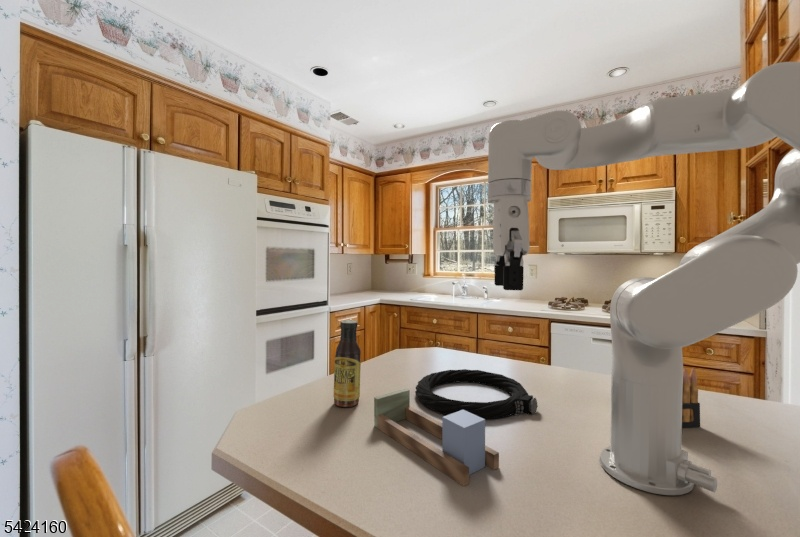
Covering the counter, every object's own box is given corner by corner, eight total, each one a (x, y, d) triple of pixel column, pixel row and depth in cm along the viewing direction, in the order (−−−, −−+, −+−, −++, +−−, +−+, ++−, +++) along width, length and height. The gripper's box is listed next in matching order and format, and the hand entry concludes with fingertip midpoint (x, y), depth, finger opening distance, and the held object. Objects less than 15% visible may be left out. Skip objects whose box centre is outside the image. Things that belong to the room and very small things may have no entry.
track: (498, 467, 61) (499, 431, 61) (463, 486, 56) (463, 447, 56) (406, 415, 81) (406, 388, 81) (374, 425, 76) (374, 397, 76)
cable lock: (449, 362, 111) (552, 381, 93) (449, 374, 111) (552, 396, 93) (392, 387, 89) (514, 419, 71) (392, 403, 89) (513, 439, 71)
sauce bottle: (329, 407, 85) (328, 323, 85) (339, 397, 92) (339, 318, 91) (355, 410, 84) (355, 324, 83) (364, 399, 90) (364, 319, 89)
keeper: (485, 466, 61) (485, 419, 61) (464, 477, 58) (464, 427, 58) (463, 453, 65) (463, 409, 65) (442, 463, 62) (442, 416, 62)
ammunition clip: (692, 423, 77) (694, 366, 76) (700, 427, 75) (701, 369, 75) (644, 425, 76) (645, 368, 76) (650, 429, 74) (651, 370, 74)
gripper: (544, 183, 57) (542, 292, 58) (519, 200, 74) (518, 284, 75) (495, 184, 58) (493, 291, 58) (482, 201, 75) (481, 284, 76)
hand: (507, 287), depth 67 cm, fingers open, 9 cm apart
